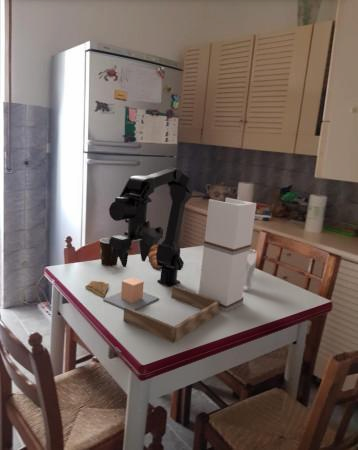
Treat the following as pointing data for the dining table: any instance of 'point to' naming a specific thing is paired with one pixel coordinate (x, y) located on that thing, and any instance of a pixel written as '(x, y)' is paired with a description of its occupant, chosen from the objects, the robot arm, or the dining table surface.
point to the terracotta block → (132, 290)
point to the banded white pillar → (226, 251)
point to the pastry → (153, 257)
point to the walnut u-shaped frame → (182, 328)
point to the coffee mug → (108, 253)
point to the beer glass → (249, 269)
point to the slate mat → (136, 305)
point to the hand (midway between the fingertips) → (134, 264)
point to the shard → (98, 287)
